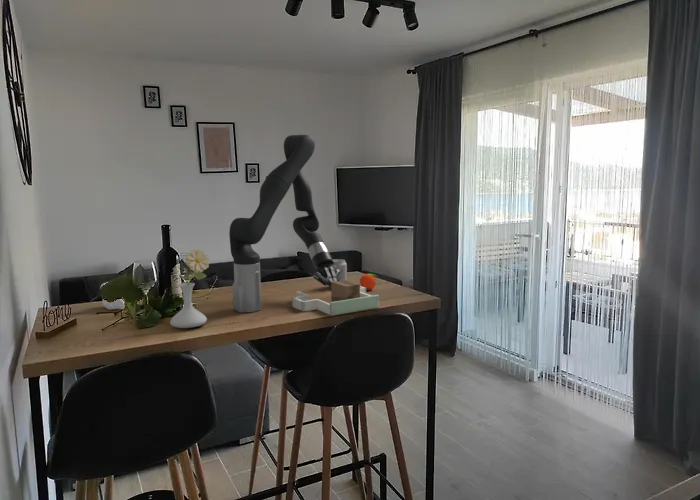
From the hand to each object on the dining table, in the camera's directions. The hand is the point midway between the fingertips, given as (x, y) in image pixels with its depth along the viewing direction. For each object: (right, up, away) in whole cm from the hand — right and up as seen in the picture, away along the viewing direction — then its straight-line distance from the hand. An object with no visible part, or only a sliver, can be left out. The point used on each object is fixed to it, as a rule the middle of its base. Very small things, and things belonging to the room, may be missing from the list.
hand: (337, 292), depth 190 cm
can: (0, 0, +30) cm, 30 cm away
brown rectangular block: (+3, -5, -4) cm, 7 cm away
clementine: (+13, -1, +24) cm, 28 cm away
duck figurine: (-82, -6, -5) cm, 83 cm away
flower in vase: (-46, -9, -27) cm, 54 cm away
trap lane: (0, -4, +1) cm, 4 cm away
